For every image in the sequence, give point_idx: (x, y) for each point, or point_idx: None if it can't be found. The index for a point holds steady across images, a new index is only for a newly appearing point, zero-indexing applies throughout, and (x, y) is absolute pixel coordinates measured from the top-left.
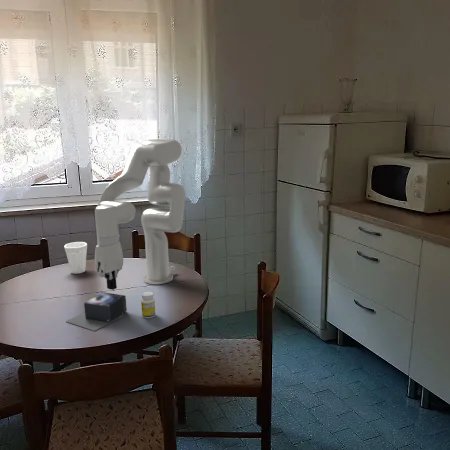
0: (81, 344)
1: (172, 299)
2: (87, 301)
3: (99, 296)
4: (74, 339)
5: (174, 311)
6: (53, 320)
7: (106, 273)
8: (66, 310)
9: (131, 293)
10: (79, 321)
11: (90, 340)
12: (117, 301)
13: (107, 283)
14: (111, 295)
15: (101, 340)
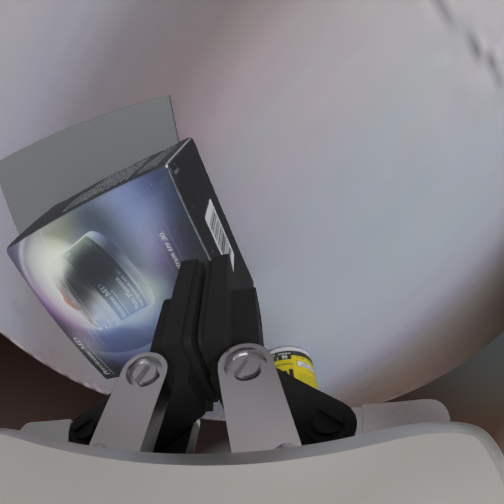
0: (23, 340)
1: (444, 316)
2: (20, 252)
3: (100, 252)
4: (7, 306)
5: (357, 383)
6: None
7: (138, 434)
8: (43, 25)
9: (444, 111)
10: (30, 210)
11: (45, 344)
12: None
13: (160, 330)
14: None
15: (71, 364)
